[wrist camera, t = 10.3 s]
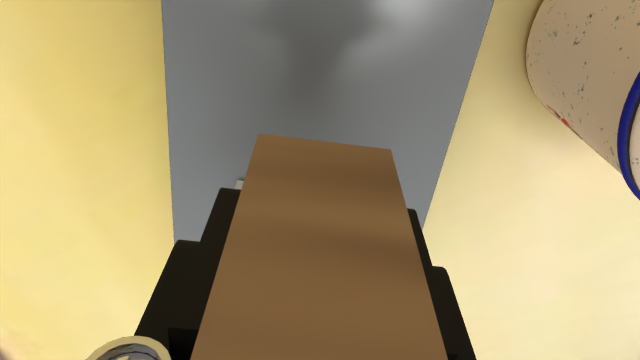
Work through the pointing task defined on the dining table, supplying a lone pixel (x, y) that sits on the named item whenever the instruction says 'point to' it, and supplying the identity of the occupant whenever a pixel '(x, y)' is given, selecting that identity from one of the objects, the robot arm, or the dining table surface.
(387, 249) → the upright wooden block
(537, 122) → the dining table surface
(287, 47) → the slate board
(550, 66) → the teacup with lid
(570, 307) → the dining table surface
